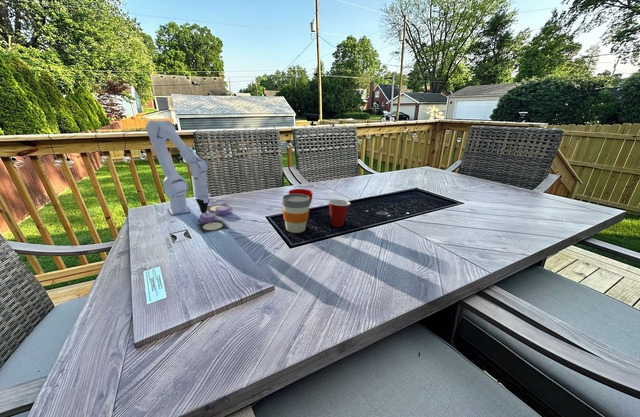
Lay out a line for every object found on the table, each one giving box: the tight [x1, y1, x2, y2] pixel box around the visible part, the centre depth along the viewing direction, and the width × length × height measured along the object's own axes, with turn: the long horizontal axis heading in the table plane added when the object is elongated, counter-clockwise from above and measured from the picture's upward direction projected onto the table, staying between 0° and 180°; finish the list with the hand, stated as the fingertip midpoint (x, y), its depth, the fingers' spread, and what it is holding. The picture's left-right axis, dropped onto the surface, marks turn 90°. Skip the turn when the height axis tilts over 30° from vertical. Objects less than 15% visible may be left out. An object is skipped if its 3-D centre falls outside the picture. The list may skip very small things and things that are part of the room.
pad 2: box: [197, 220, 228, 234], centre depth 118 cm, size 10×10×1 cm
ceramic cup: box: [288, 188, 313, 207], centre depth 141 cm, size 13×17×10 cm
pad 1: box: [207, 203, 231, 213], centre depth 140 cm, size 10×10×1 cm
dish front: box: [199, 212, 217, 224], centre depth 124 cm, size 7×7×2 cm
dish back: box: [215, 205, 231, 216], centre depth 134 cm, size 7×7×3 cm
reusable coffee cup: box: [281, 193, 311, 234], centre depth 118 cm, size 13×12×15 cm
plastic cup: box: [327, 198, 351, 228], centre depth 125 cm, size 11×11×12 cm
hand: (203, 212), depth 129 cm, fingers closed
